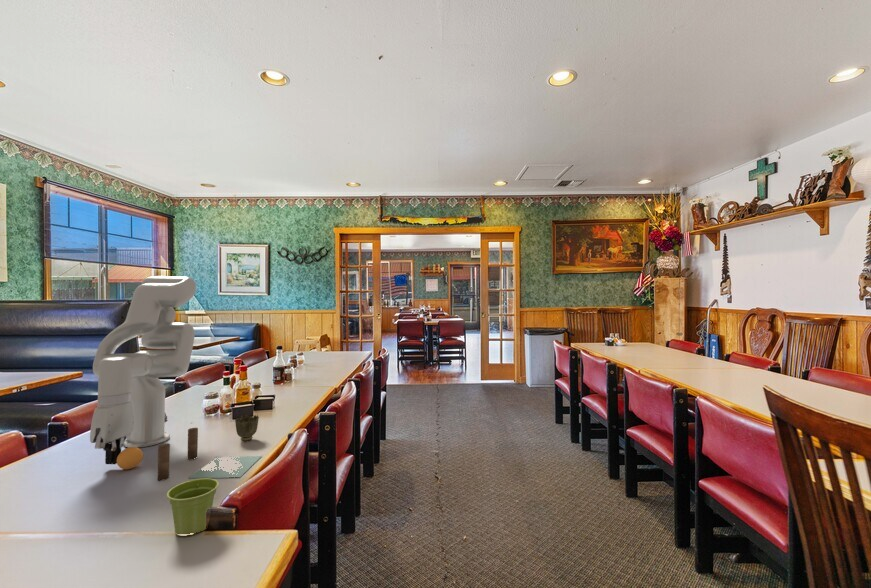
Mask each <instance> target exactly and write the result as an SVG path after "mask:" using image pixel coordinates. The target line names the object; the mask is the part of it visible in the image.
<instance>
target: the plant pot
mask: <svg viewBox="0 0 871 588" xmlns="http://www.w3.org/2000/svg"><path fill="white" fill-rule="evenodd" d="M219 483H220V482H219V481H218V480H217V479H216V478H194V479H191V480H187V481H184V482H181V483H179V484H177V485H175V486H173V487H172V488H170V489H168V491H167V492H166V498H167V499H168V500H169V503H170V506H171V511H172V519H173V525H174V526H173V527H174V532H175V534H176V533H177V534H190V533H195V532H197V533H201V532H200V531H202V532H203V531H205V530H206V529H207V528H206V511H207V510H208V509H209V508H213V503H214V499H215V494H216V492H217V489H218V487H219ZM177 534H176V535H177ZM195 534H196V533H195Z"/></svg>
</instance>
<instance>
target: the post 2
mask: <svg viewBox="0 0 871 588" xmlns="http://www.w3.org/2000/svg"><path fill="white" fill-rule="evenodd" d="M198 441H199V428H198V427H192V428H188V429H187V458H188V459H193V460H195V459H194V458H196V457H197V458H198V454H199V453H198V447H199V444H198V443H199V442H198ZM197 458H196V459H197ZM188 459H187V460H188Z"/></svg>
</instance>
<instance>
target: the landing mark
mask: <svg viewBox="0 0 871 588" xmlns="http://www.w3.org/2000/svg"><path fill="white" fill-rule="evenodd" d="M217 457H218V458H219V457H220V458H221V457H222V456H214V458H217ZM233 457H234V456H233ZM239 457H240V458H238V457H237V458H236V457H235V458H236V459H235V458H234V459H235V460H236V461H239V460H240V461H239V462H240V463H241V464H242V466H243V468H241V467H242V466H240V467H238V468H239V469H237V471H235V470H233V472H234V473H235V474H233V475H232V473H233V472H232V473H230V474H229V472H226V471H223V470H222V469H220V470H219V468H218V467H219V461H220V460H219V459H218V458H217V459H218V460H219V461H218V460H217V459H216V460H214V458H213V460H214V462H215V463H216V465H217V466H215V467H217V470H216V469H214V471H212V470H211V471H212V472H211V471H209V470H208V471H207V470H206V471H204V470H203V471H202V470H201V468H199V469H200V470H199V469H198V470H196V471H195V472H194V473H192V475H190V476H189V477H188V479H189V480H190V479H203V478H210V479H230V478H229V477H234V478H233V479H236V478H235V477H239V478H238V479H240V478H241V477H243V476H244V474H246V472H247V470H248V469H249V468H250V467H251V466H252V465H253V464H254V465H255V464H256V463H257V462H258V461H259V460H260V459H261V458H262V457H263V456H262V455H261V456H259V455H256V456H255V455H253V456H252V455H251V456H250V455H248V456H246V455H245V456H244V455H243V456H241V455H239ZM231 459H232V458H231ZM234 459H233V460H234ZM237 459H238V460H237ZM211 460H212V459H211ZM213 460H212V461H213ZM221 461H222V460H221ZM227 461H228V460H227ZM209 462H210V461H209ZM209 462H207V463H209ZM210 463H211V462H210ZM210 463H209V464H210ZM240 463H239V464H240ZM235 464H237V463H235ZM254 465H253V466H254ZM253 466H252V467H253ZM215 467H214V468H215ZM252 467H251V468H252ZM220 468H221V467H220ZM223 468H224V467H223ZM240 468H241V469H240ZM251 468H250V469H251ZM211 469H212V468H211ZM250 469H249V470H250ZM231 470H232V469H231ZM249 470H248V471H249ZM238 471H239V472H238ZM237 473H238V474H237ZM236 474H237V475H236Z"/></svg>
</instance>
